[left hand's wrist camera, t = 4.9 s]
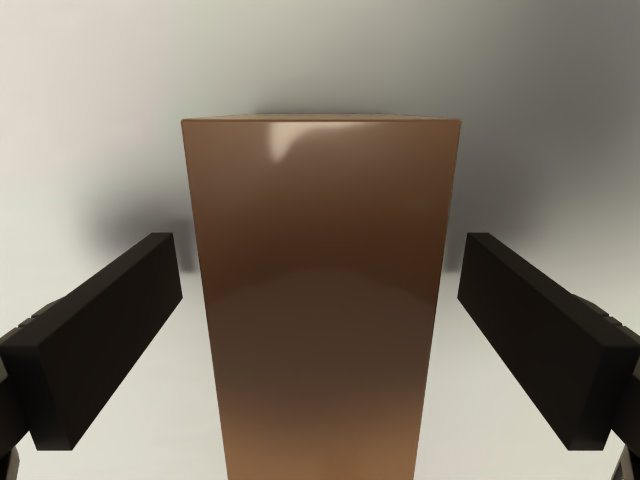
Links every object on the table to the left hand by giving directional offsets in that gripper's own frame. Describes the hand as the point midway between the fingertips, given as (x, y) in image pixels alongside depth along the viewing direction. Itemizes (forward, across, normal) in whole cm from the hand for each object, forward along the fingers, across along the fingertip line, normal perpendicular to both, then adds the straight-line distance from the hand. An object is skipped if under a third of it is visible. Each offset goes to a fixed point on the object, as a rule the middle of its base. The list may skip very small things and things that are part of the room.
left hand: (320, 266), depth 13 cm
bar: (+2, 0, -35) cm, 35 cm away
